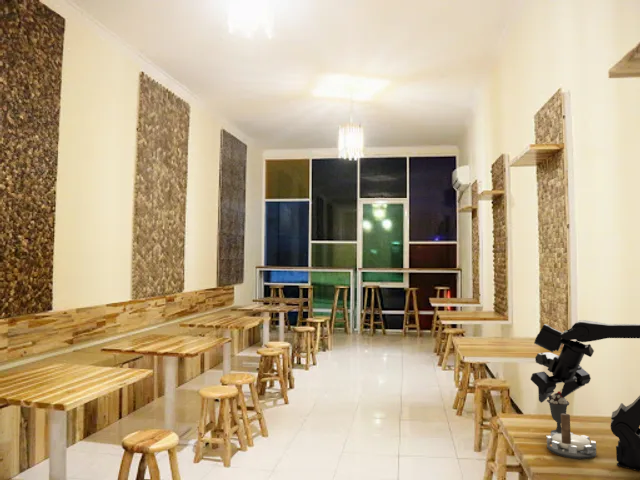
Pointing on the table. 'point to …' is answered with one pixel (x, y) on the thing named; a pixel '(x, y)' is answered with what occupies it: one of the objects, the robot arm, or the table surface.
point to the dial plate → (574, 456)
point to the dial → (569, 435)
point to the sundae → (557, 408)
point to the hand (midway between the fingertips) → (551, 398)
